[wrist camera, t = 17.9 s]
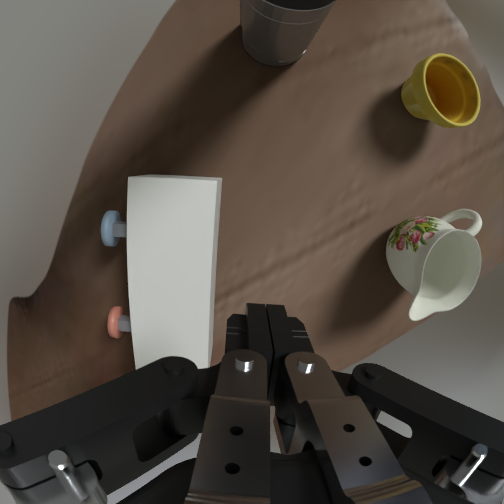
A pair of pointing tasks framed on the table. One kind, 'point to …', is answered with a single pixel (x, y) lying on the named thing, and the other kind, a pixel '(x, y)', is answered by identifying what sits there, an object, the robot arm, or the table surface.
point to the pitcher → (435, 261)
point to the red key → (118, 322)
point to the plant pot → (442, 92)
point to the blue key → (112, 228)
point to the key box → (172, 265)
